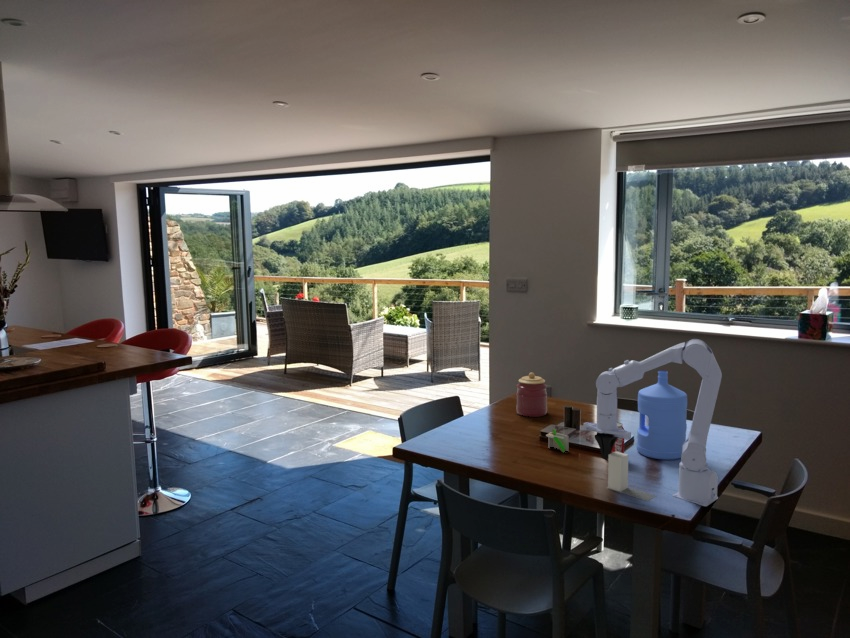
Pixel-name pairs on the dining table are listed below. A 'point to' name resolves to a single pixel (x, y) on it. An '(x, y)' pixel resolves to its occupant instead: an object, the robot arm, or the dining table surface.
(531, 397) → the canister
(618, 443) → the soda can
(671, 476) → the dining table surface
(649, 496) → the rubber mat
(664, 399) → the water jug
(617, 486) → the cream block
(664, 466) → the dining table surface
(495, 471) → the dining table surface
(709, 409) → the robot arm
